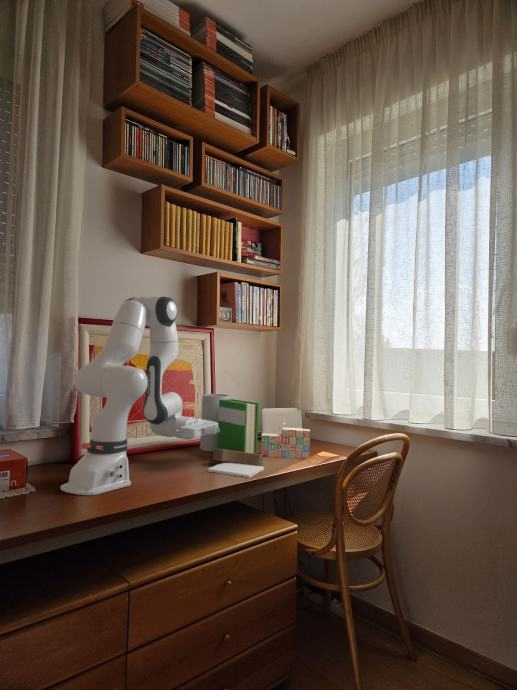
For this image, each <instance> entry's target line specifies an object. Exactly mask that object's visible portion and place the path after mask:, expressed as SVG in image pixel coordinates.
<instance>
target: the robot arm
mask: <svg viewBox="0 0 517 690" xmlns="http://www.w3.org/2000/svg"><path fill="white" fill-rule="evenodd" d="M178 312H179V311H178V305H177V303H176V301H175V300H174V299H173V297H172V298H171V297H169V296H150V295H149V296H148V295H147V296H138V297H136V296H135V297H130V298H128V299H125V301H124V302H123V303H122V304H120V307H119V309H118V310H117V312H116V313H115V315H114V318H113V321H112V324H111V327H110V329H109V332H108V336H107V338H106V340H105V343H104V345H103V346H102V348H101V350H100V351H99V352H98V354H97V355H96V356H95V357H94V358H93V359H92V360H91V361H90V362H88V363H87V364H85V365H84V366H82V367H81V368H80V369H79V370H78V371H77V373H76V376H75V386H76V388H77V390H78V391H79V392H80V393H81V394H85V395H88V396H90V397H96V398H97V397H98V398H106V401H105V405H104V406H103V408H102V409H100V410H97V411H96V412H95V414H94V415H93V416H92V421H91V422H92V425H91V439H90V440H89V442H82V444H81V449H83V450H86V453H85V454H84V455H83V456H82V457H81V458H80V459H79V460H78V461H77V463H76V464H75V465H73V467H71V470H70V473H69V477H68V482H66V483H64V484H62V485H60V491H63V492H65V493H68V494H75V495H79V496H96V495H100V494H103V493H107V492H110V491H114V490H118V489H121V488H125V487H129V486H131V485H132V481H131V480H130V475H129V474H130V473H129V472H130V471H129V458H128V456H127V450H128V446H129V445H128V444H129V443H128V437H127V430H128V429H127V427H128V419H129V414H130V411H131V409H132V407H133V405H134V404H135V403H136V401H138V399H139V398H141V397H142V396H143V395H145V396H144V401H143V405H142V414H143V418H144V419H145V420H146V421H147V422H148V423H149V428H150V430H151V432H152V433H154V434H155V435H158V436H161V437H165V438H166V437H167V438H173V437H174V438H177V439H180V440H181V439H183V440H191V439H196V438H199V437H201V436H203V435H206V434H216V433H219V428H218V423H217V422H214V421H208V420H201V417H193V416H184V415H183V410H184V409H183V407H184V402H183V399H182V397H181V395H179V393H178V392H176V391H169V392H166V393H164V394H163V391H162V389H163V376H164V373H165V372H166V370H167V369H168V367H169V366H170V365H171V364H172V363H174V361H175V360H176V359H177V357H178V355H179V335H178V331H177V330H178V328H177V324H176V322H175V321H176V320H177V316H178ZM146 326H148V327H149V357H148V359H147V361H146V362H147V363H146V369H145V371H144V370H143V369H141V368H138V367H134V366H131V365H124V364H125V363H126V362H128V361H129V360H131V359H133V358H135V356H136V355H137V354H138V352H139V349H140V345H141V342H142V339H143V335H144V334H145V333H144V332H145V328H146Z"/></svg>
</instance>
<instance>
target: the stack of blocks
mask: <svg viewBox="0 0 517 690" xmlns="http://www.w3.org/2000/svg"><path fill="white" fill-rule="evenodd" d="M260 441H261V442H260V445H261V446H260V454H261V455H263V457H269V458H289V459H303V458H309V459H310V448H311V429H310V428H303V427H284V426H282V427H281V433H266V432H262V433H261V439H260Z"/></svg>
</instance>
